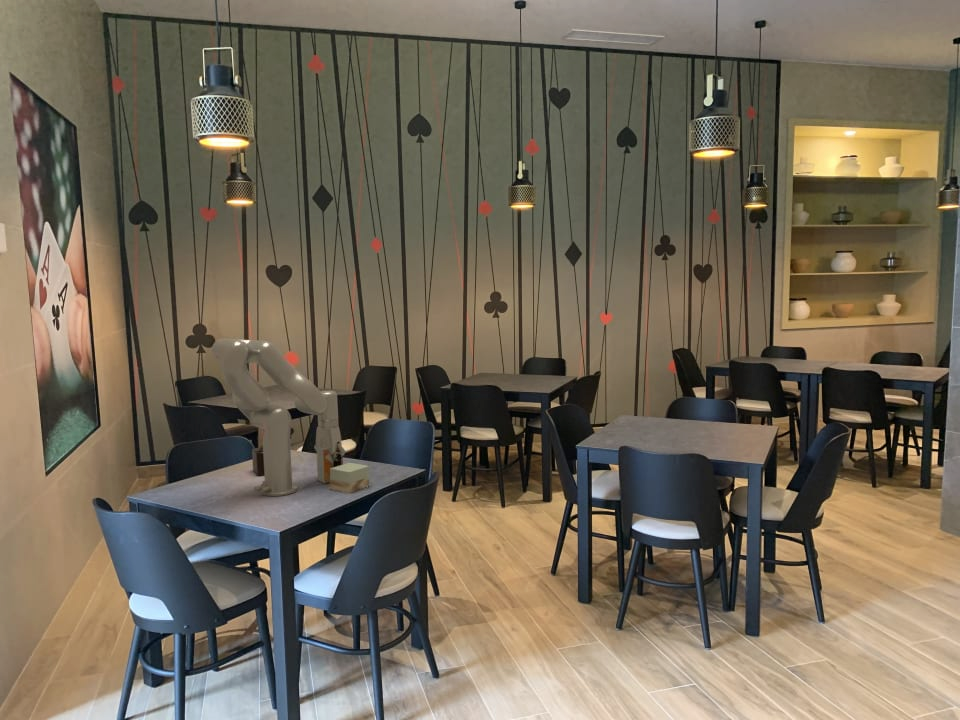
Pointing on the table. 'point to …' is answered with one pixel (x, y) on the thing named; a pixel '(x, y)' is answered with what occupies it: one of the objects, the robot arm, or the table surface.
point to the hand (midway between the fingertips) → (330, 468)
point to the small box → (325, 464)
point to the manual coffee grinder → (260, 459)
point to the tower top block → (349, 472)
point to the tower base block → (349, 485)
